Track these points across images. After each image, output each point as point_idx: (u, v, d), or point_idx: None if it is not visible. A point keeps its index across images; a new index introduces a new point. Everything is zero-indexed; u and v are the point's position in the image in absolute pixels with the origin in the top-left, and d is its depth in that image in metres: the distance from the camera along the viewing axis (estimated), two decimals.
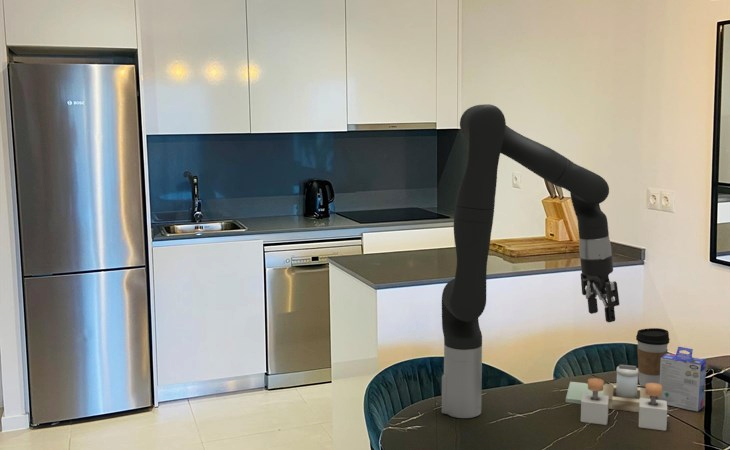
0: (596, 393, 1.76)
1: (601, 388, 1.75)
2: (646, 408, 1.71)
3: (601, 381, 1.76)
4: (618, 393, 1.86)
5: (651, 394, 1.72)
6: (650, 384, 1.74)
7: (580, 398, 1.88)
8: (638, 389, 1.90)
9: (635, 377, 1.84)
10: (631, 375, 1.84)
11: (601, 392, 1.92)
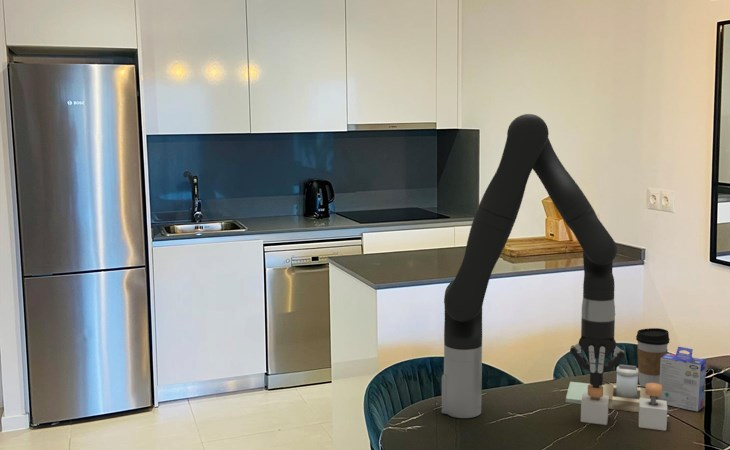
0: (596, 399, 1.77)
1: (601, 394, 1.75)
2: (646, 408, 1.71)
3: (601, 387, 1.76)
4: (618, 393, 1.86)
5: (651, 394, 1.72)
6: (650, 384, 1.74)
7: (580, 398, 1.88)
8: (638, 389, 1.90)
9: (635, 377, 1.84)
10: (631, 375, 1.84)
11: None
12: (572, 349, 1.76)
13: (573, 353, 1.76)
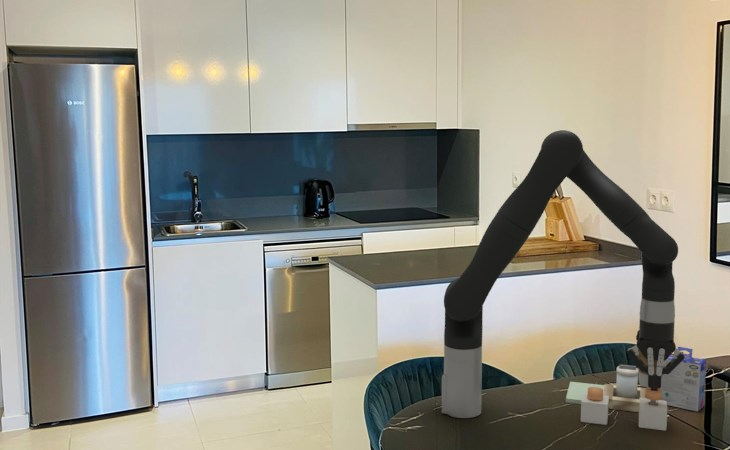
0: None
1: (601, 397, 1.75)
2: (646, 408, 1.71)
3: (601, 390, 1.76)
4: (618, 393, 1.86)
5: (651, 398, 1.72)
6: (650, 388, 1.74)
7: (580, 398, 1.88)
8: (638, 389, 1.90)
9: (635, 377, 1.84)
10: (631, 375, 1.84)
11: None
12: (630, 351, 1.73)
13: (631, 355, 1.73)
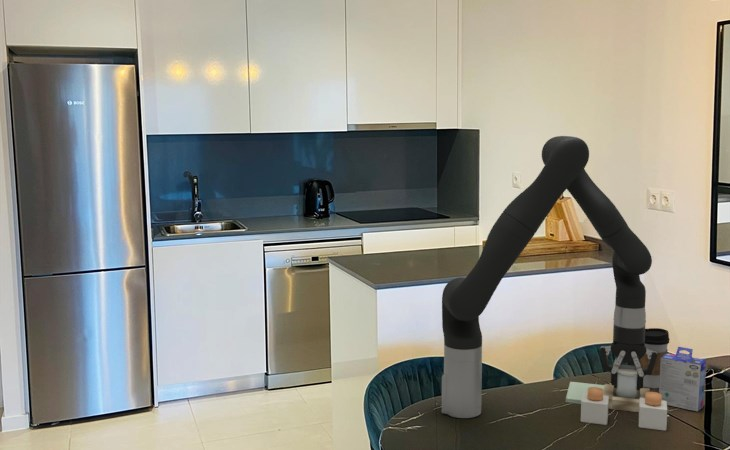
0: None
1: (601, 397, 1.75)
2: (646, 408, 1.71)
3: (601, 390, 1.76)
4: (618, 393, 1.86)
5: (651, 403, 1.72)
6: (650, 393, 1.74)
7: (580, 398, 1.88)
8: None
9: (635, 377, 1.84)
10: (631, 375, 1.84)
11: None
12: (602, 349, 1.86)
13: (602, 353, 1.87)
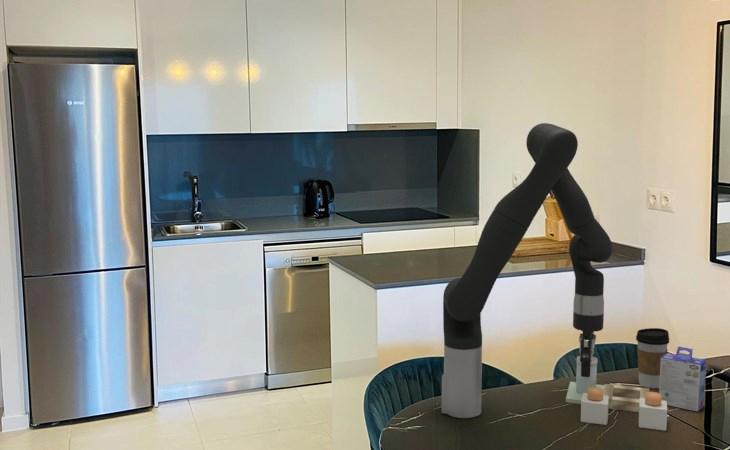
0: None
1: (601, 397, 1.75)
2: (646, 408, 1.71)
3: (601, 390, 1.76)
4: (592, 384, 1.90)
5: (651, 403, 1.72)
6: (650, 393, 1.74)
7: (580, 398, 1.88)
8: (638, 389, 1.90)
9: None
10: None
11: None
12: (591, 340, 1.84)
13: (590, 344, 1.84)
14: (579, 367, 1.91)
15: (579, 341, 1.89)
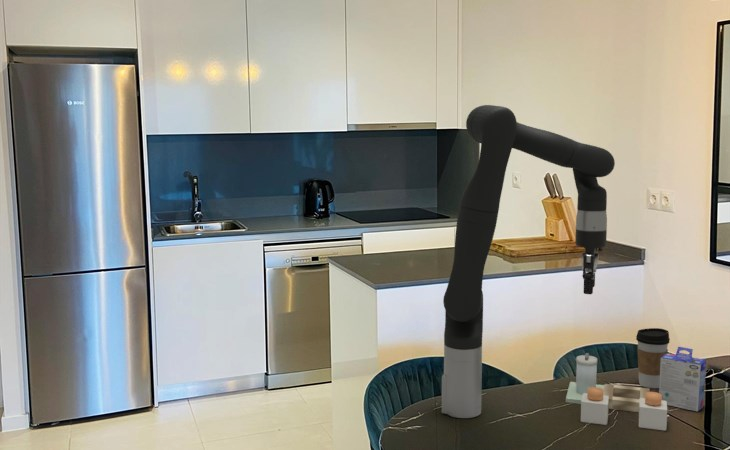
0: None
1: (601, 397, 1.75)
2: (646, 408, 1.71)
3: (601, 390, 1.76)
4: (592, 384, 1.90)
5: (651, 403, 1.72)
6: (650, 393, 1.74)
7: (580, 398, 1.88)
8: (638, 389, 1.90)
9: None
10: None
11: None
12: (594, 255, 1.81)
13: (593, 259, 1.81)
14: (579, 367, 1.91)
15: (582, 258, 1.86)
